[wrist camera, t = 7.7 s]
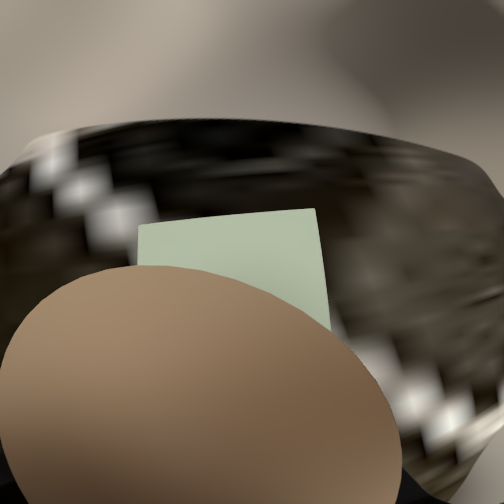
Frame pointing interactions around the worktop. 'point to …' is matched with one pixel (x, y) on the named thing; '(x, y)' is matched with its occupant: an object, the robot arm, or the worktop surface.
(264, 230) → the board
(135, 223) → the worktop surface
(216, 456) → the tan turned knob
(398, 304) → the worktop surface
